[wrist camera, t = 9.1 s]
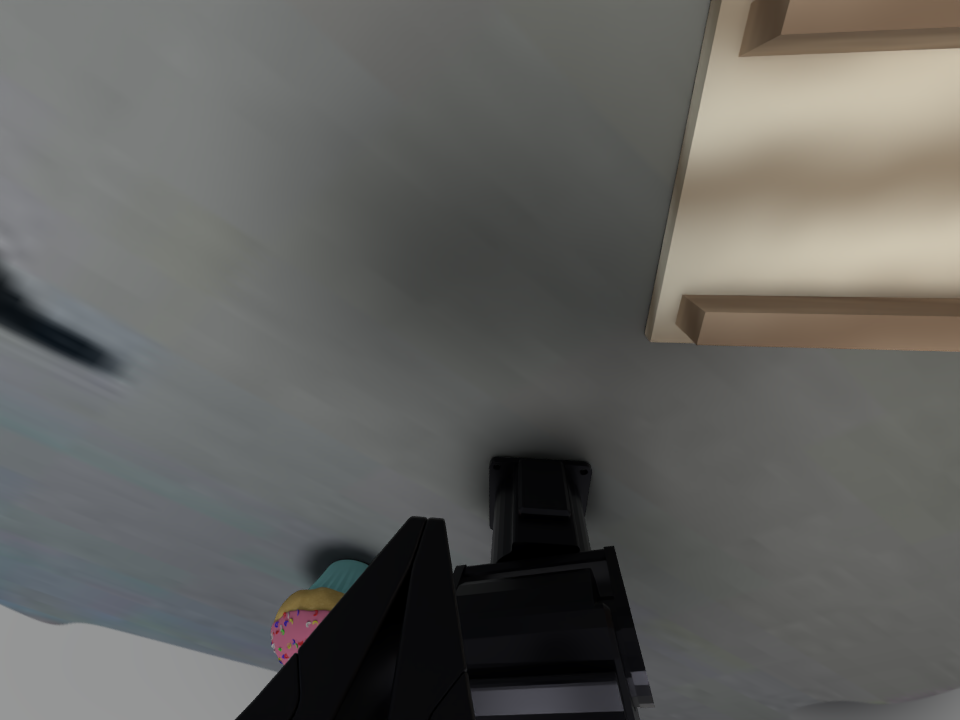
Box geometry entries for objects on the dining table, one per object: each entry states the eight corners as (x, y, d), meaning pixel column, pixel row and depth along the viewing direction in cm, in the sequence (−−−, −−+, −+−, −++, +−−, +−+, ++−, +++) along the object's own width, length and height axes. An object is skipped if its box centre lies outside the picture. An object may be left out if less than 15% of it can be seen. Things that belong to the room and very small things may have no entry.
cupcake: (422, 584, 32) (373, 795, 21) (361, 618, 35) (292, 815, 24) (343, 528, 29) (241, 733, 19) (285, 569, 32) (171, 764, 22)
